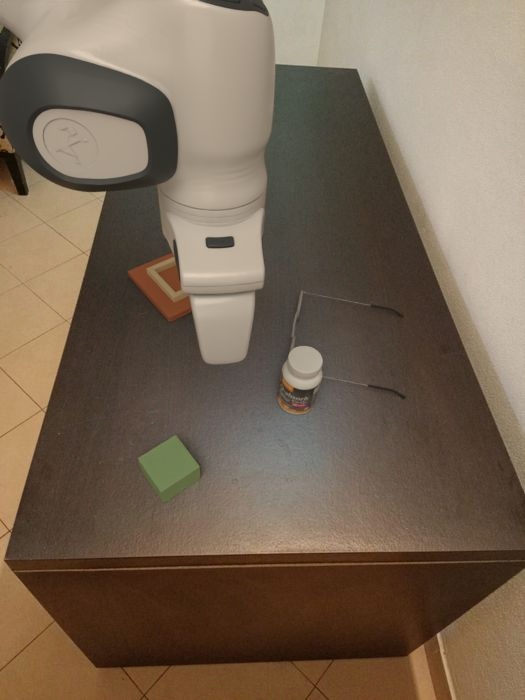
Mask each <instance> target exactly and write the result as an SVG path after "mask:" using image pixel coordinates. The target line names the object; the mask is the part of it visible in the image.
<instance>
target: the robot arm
mask: <svg viewBox="0 0 525 700" xmlns="http://www.w3.org/2000/svg"><path fill="white" fill-rule="evenodd" d="M0 25H2V26H3V27H4V28H5V29H7V30H9V32H11V33H12V34H14V35H15V36H16V38H18V39H19V41H20V42H21V44H20V45H19V47H18V48H17V50H16V51H15V53H14V54H13V56H12V57H11V59H10V61H9V62H8V64H7V66H6V68H5V70H4V72H3V74H2V76H1V77H0V126H1V129H2V131H3V134H4V136H5V137H6V139H7V141H8V142H9V144H10V146H11V147H12V148H13V150H14V151H15V152H16V154H17V155H18V156H19V157H20V158H21V159H22V161H23V162H24V163H25V164H26V165H27V166H28V167H30V168H31V169H32V170H33V171H34V172H36V174H38V175H39V176H41V177H42V178H43V179H46V180H47V181H49V182H50V183H53V184H55V185H57V186H59V187H62V188H64V189H65V188H66V189H67V190H71V191H77V192H83V193H105V192H119V191H127V190H135V189H143V188H148V187H149V188H150V187H153V186H154V187H155V186H156V189H157V195H158V197H157V199H158V206H159V215H160V224H161V231H162V234H163V236H164V238H165V239H166V240H167V244H168V245H169V248H170V250H171V253H173V255H174V257H175V262H176V265H177V270H178V276H179V281H180V282H181V290H182V292H183V293H186V294H189V299H190V304H191V309H192V312H191V313H192V318H193V324H194V329H195V333H196V338H197V343H198V348H199V353H200V355H201V358H202V360H203V362H204V363H205V364H209V365H228V364H236V363H239V362H242V361H243V360H245V359H246V357H247V355H248V351H249V346H250V343H251V342H250V341H251V336H252V330H253V323H254V316H255V309H256V291H257V290H261V289H263V288H264V285H265V279H266V267H265V265H266V263H265V261H266V260H265V251H264V241H263V240H264V230H265V222H266V221H265V219H266V201H267V191H268V170H267V166H266V161H265V160H266V159H265V153H266V148H267V146H268V143H269V141H270V139H271V138H270V137H271V135H272V130H273V122H274V109H275V96H276V95H275V93H276V42H275V32H274V24H273V20H272V16H271V14H270V12H269V10H268V7H267V6H266V5H265V2H264V1H263V0H0Z"/></svg>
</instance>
